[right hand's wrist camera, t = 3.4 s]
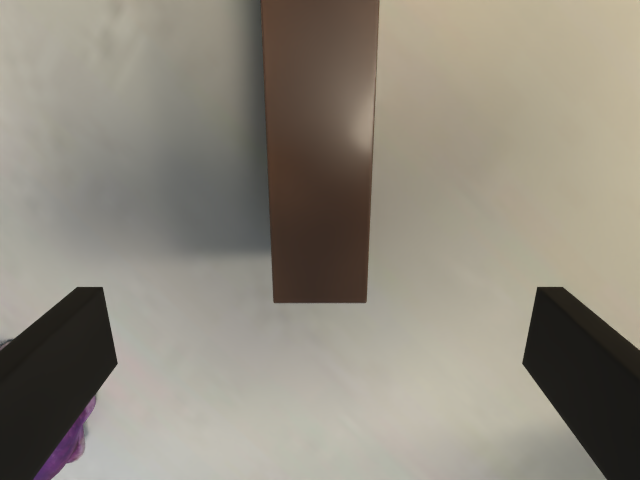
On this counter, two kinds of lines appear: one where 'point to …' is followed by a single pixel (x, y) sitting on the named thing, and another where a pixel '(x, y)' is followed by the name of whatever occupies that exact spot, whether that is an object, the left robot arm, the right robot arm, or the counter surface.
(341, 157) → the plank
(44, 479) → the figurine
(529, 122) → the counter surface
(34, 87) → the counter surface
